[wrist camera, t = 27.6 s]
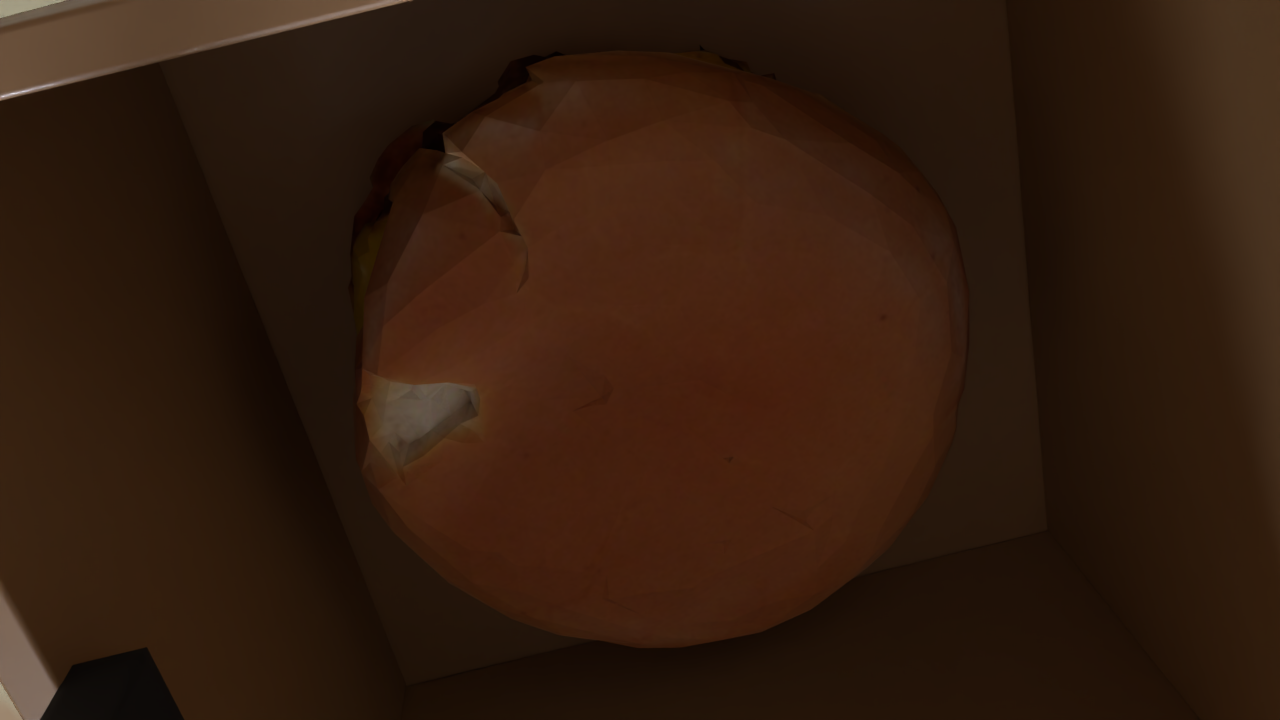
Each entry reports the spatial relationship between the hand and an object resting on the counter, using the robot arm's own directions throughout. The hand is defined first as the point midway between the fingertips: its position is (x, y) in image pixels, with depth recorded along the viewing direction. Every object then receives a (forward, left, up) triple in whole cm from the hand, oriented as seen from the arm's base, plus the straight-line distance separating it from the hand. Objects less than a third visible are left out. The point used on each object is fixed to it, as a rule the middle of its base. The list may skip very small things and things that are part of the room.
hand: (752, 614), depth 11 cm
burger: (0, 0, -9) cm, 9 cm away
